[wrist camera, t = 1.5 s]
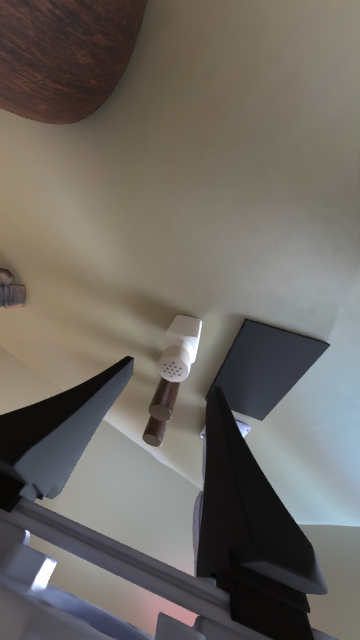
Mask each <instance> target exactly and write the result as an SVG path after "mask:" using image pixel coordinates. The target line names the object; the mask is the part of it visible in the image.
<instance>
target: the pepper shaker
mask: <svg viewBox="0 0 360 640" xmlns="http://www.w3.org/2000/svg"><path fill="white" fill-rule="evenodd" d="M200 331H201V320H200V319H198V318H194V317H189V316H184V315H177V316H176V318H175V319H174V321H173V322H172V324H171V326H170V327H169V329H168V330H167V332H166V333H165V338H164V346H163V353H162V355H161V357H160V358H159V361H158V363H157V369H158V373H159V374H160V375H161V376H162V377H163V378H164V379H166V380H169V381H171V382H180V381H183V380H185V379H186V378H187V376H188V375H189V372H190V367H191V363H193V362H194V361H195V358H196V353H197V349H198V344H199V338H200Z"/></svg>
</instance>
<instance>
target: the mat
mask: <svg viewBox="0 0 360 640" xmlns="http://www.w3.org/2000/svg"><path fill="white" fill-rule="evenodd" d="M329 346H330V344H328V343H327V342H323V341H320V340H316V339H313V338H310V337H306V336H303V335H300V334H296V333H293V332H289V331H286V330H283V329H279V328H276V327H273V326H269V325H266V324H262V323H259V322H256V321H252V320H249V319H245V321H244V323H243V325H242V327H241V329H240V331H239V333H238V335H237V337H236V339H235V341H234V343H233V345H232V347H231V349H230V351H229V352H228V354H227V356H226V358H225V360H224V362H223V364H222V366H221V368H220V370H219V372H218V374H217V376H216V378H215V380H214V382H213V384H212V386H211V388H210V390H209V392H208V394H207V396H206V399H205V400H206V401H207V399H208V397H209V395H210V394H211V392H212V390H213V388H214V386H218V387H221V388H222V389H223V391H224V394H225V396H226V399H227V402H228V404H229V407H230V409H231V410H233V411H236V412H239V413H241V414H244V415H247V416H250V417H252V418H255V419H258V420H261V421H262V420H263V419H264V418H265V417H266V416H267V415H268V414H269V413H270V411H271V410H272V409H273V408H274V407H275V406H276V405H277V404H278V403H279V401H280V400H281V399H282V398H283V397H284V396H285V395H286V394H287V393H288V392H289V390H290V389H291V388H292V387H293V386H294V385H295V384H296V383H297V382H298V380H299V379H300V378H301V377H302V376H303V375H304V374H305V373H306V372H307V371H308V369H309V368H310V367H311V366H312V365H313V364H314V363H315V362H316V361H317V359H318V358H319V357H320V356H321V355H322V354H323V353H324V352H325V351H326V349H327V348H328V347H329Z"/></svg>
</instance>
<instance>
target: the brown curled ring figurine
mask: <svg viewBox="0 0 360 640" xmlns="http://www.w3.org/2000/svg"><path fill="white" fill-rule="evenodd" d="M13 280H14V276H13V274H12V273H11V272H10V271H8V270H7V269H2V268H0V307H1V306H4V307H5V308H15V307H23V305H24V301H25V286H24V285H14V284H9V283H11V282H12V281H13Z"/></svg>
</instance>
